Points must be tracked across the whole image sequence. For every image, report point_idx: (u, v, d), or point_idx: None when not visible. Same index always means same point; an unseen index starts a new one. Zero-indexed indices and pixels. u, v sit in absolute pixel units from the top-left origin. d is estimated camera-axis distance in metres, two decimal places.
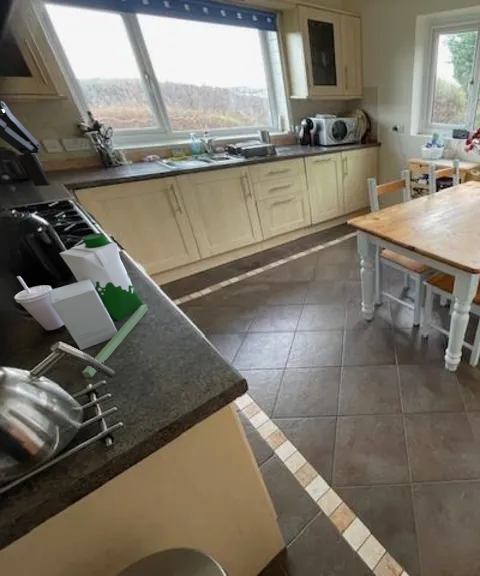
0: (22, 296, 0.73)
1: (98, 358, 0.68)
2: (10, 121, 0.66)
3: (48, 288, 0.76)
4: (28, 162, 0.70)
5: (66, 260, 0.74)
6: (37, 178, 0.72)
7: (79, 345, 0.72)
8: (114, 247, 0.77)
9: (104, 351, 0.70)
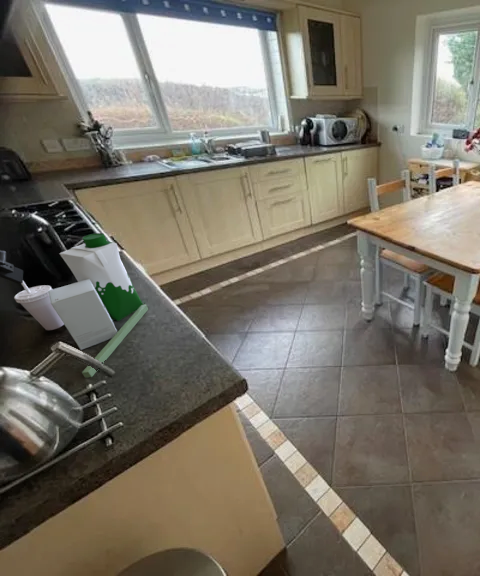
0: (22, 296, 0.73)
1: (98, 358, 0.68)
2: None
3: (48, 288, 0.76)
4: None
5: (66, 260, 0.74)
6: None
7: (79, 345, 0.72)
8: (114, 247, 0.77)
9: (104, 351, 0.70)
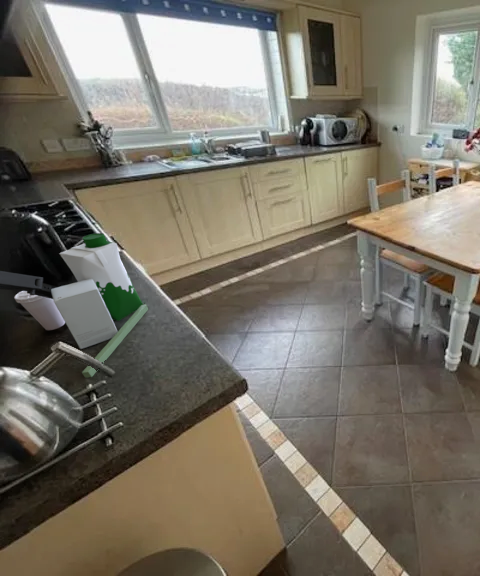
0: (22, 296, 0.73)
1: (98, 358, 0.68)
2: None
3: None
4: None
5: (66, 260, 0.74)
6: None
7: (79, 344, 0.71)
8: (114, 247, 0.77)
9: (104, 351, 0.70)
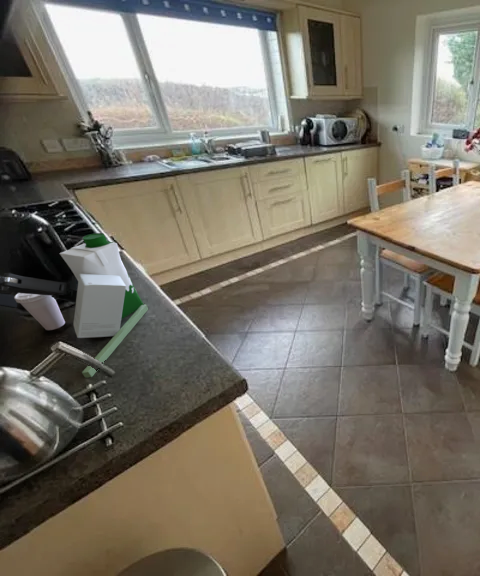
0: (22, 296, 0.73)
1: (98, 358, 0.68)
2: None
3: None
4: None
5: (66, 260, 0.74)
6: None
7: (79, 332, 0.71)
8: (114, 247, 0.77)
9: (104, 351, 0.70)
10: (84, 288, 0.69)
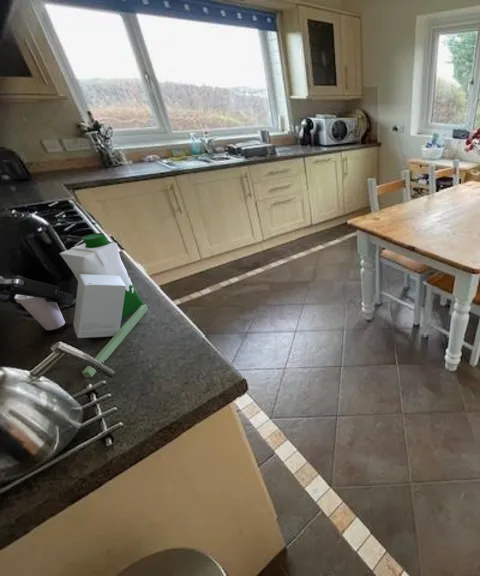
0: (22, 296, 0.73)
1: (98, 358, 0.68)
2: None
3: None
4: None
5: (66, 260, 0.74)
6: None
7: (79, 332, 0.71)
8: (114, 247, 0.77)
9: (104, 351, 0.70)
10: (84, 288, 0.69)
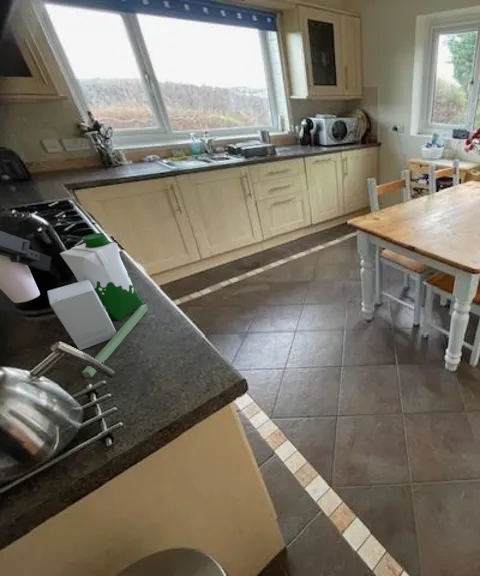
0: None
1: (98, 358, 0.68)
2: None
3: None
4: None
5: (66, 260, 0.74)
6: None
7: (78, 345, 0.71)
8: (114, 247, 0.77)
9: (104, 351, 0.70)
10: (52, 307, 0.66)
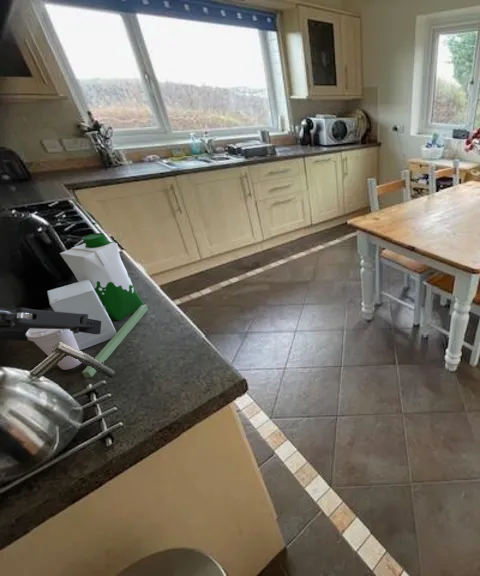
0: (35, 333, 0.62)
1: (98, 358, 0.68)
2: None
3: None
4: None
5: (66, 260, 0.74)
6: None
7: (78, 345, 0.71)
8: (114, 247, 0.77)
9: (104, 351, 0.70)
10: (52, 306, 0.66)
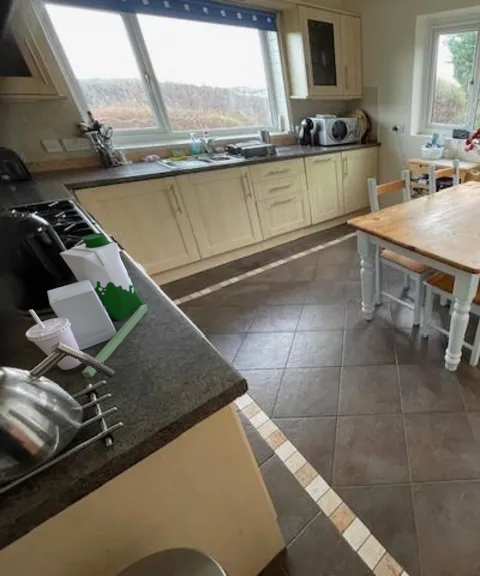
0: (35, 333, 0.62)
1: (98, 358, 0.68)
2: None
3: (65, 322, 0.65)
4: None
5: (66, 260, 0.74)
6: None
7: (78, 345, 0.71)
8: (114, 247, 0.77)
9: (104, 351, 0.70)
10: (52, 306, 0.66)
